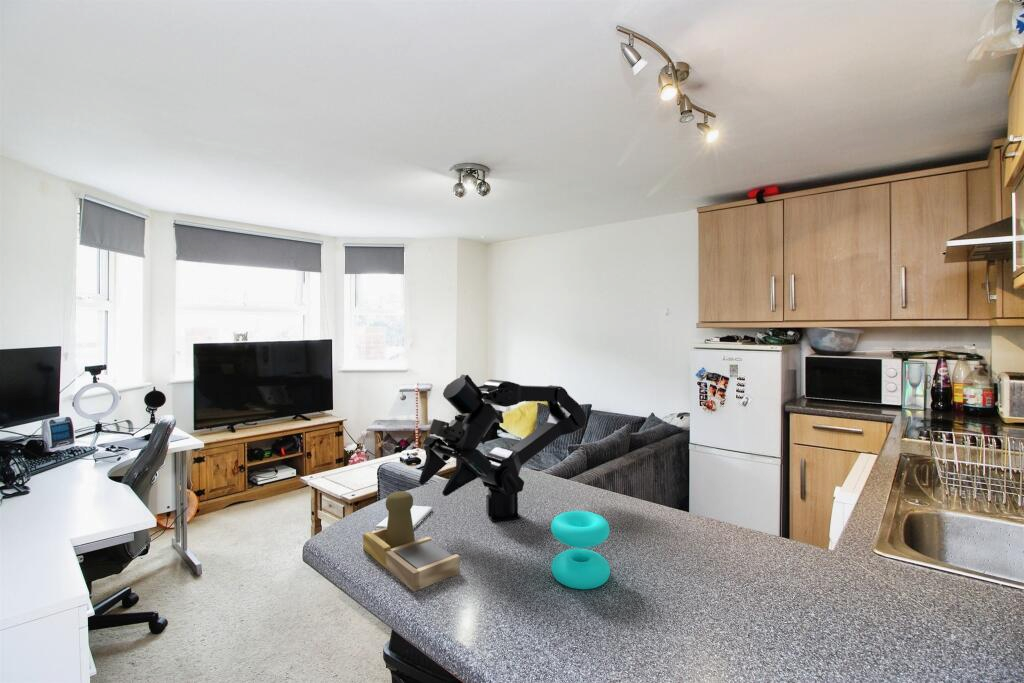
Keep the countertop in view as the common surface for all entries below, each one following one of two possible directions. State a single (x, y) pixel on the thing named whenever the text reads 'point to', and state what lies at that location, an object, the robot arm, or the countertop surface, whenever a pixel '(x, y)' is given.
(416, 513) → the external hard drive
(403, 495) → the olive brown pawn
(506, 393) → the robot arm
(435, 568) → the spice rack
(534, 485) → the countertop surface
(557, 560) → the donuts
